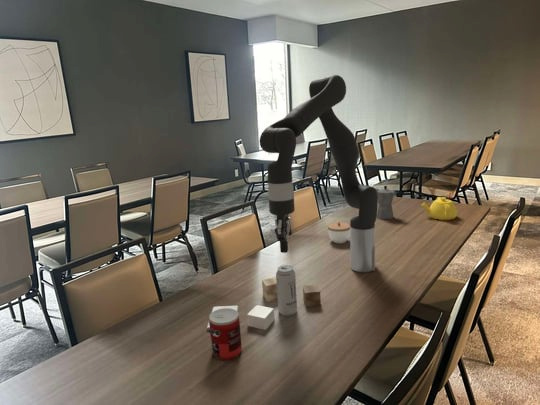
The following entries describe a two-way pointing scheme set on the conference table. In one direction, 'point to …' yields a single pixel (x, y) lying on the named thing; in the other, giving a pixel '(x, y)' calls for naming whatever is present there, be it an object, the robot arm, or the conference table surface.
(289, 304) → the energy drink can
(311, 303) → the walnut block
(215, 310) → the external hard drive
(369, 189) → the robot arm
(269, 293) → the oak block
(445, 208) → the teapot
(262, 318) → the pale grey block
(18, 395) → the conference table surface
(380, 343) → the conference table surface
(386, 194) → the coffeepot
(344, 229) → the lidded jar
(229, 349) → the canned food
